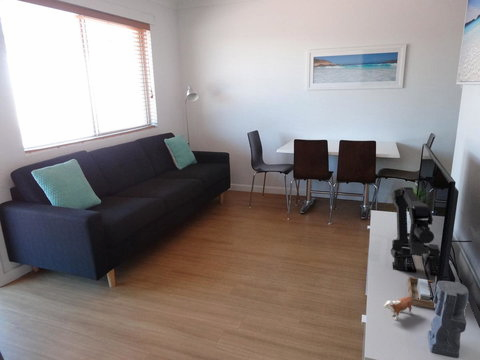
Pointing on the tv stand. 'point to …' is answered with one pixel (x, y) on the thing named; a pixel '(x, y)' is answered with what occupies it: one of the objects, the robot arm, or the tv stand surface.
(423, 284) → the long pale blue block
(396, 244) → the robot arm
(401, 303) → the bull figurine
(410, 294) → the open brown box
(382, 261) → the tv stand surface
